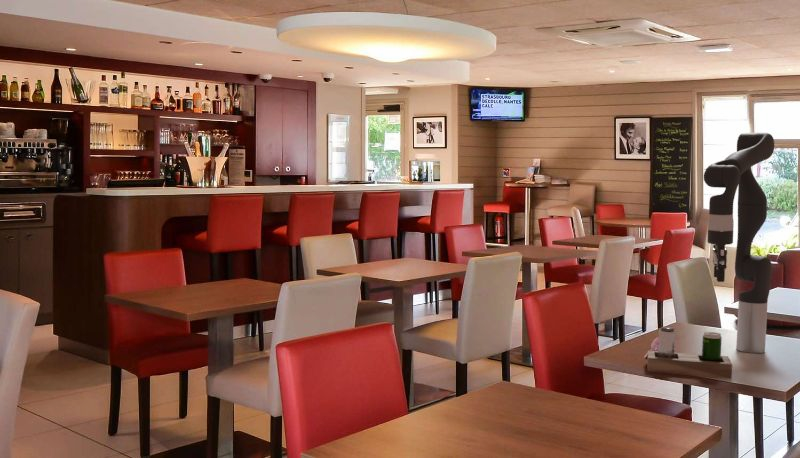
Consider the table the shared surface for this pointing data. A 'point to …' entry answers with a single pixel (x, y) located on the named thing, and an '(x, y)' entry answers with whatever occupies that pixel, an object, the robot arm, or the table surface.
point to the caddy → (689, 365)
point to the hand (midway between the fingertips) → (719, 279)
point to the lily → (654, 345)
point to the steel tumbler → (666, 342)
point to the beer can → (711, 347)
